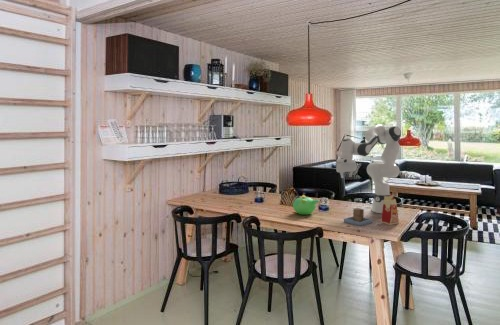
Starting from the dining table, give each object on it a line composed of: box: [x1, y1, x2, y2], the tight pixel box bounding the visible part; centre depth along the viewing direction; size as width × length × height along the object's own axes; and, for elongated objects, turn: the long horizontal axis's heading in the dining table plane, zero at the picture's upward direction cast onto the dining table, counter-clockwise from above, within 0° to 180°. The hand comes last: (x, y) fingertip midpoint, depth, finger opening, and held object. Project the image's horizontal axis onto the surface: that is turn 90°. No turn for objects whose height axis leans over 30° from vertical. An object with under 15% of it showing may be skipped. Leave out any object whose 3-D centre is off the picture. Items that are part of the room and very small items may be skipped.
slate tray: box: [343, 216, 373, 227], centre depth 258 cm, size 14×14×2 cm
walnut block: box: [352, 207, 365, 222], centre depth 258 cm, size 5×5×9 cm
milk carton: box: [381, 194, 400, 226], centre depth 256 cm, size 9×9×20 cm
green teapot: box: [292, 194, 320, 215], centre depth 283 cm, size 18×17×15 cm
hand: (346, 177), depth 280 cm, fingers open, 8 cm apart
